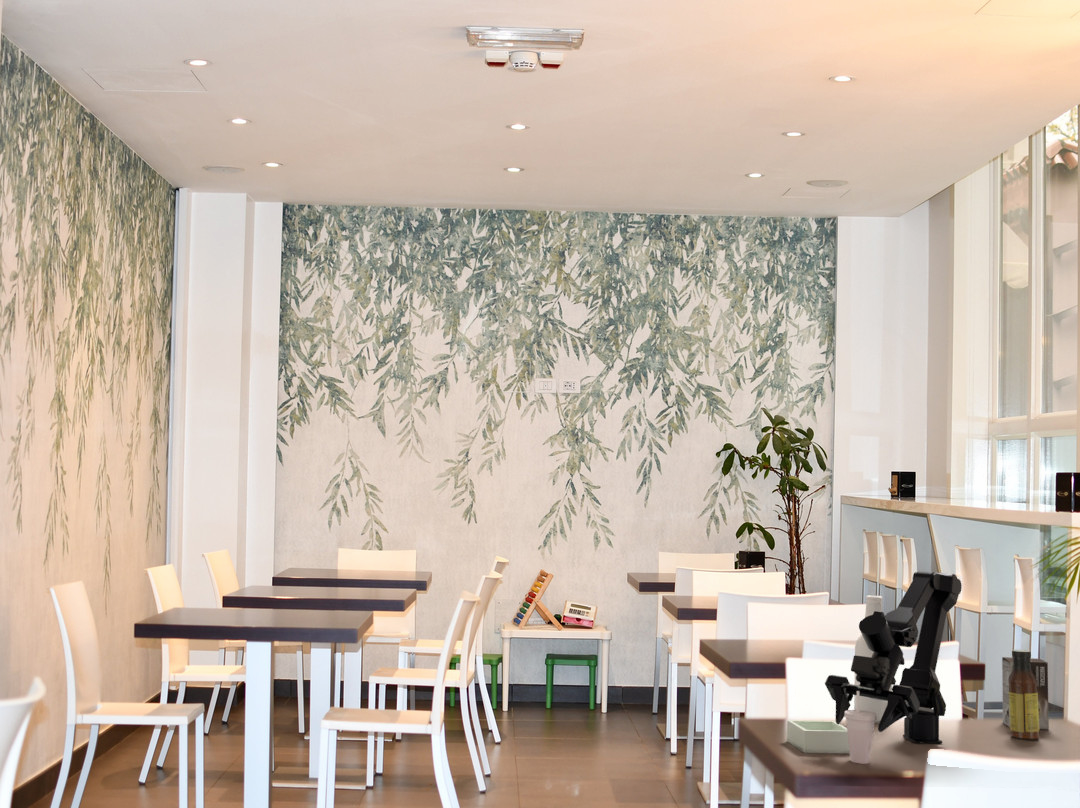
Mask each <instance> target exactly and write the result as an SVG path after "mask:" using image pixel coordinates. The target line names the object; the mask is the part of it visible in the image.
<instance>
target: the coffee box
mask: <svg viewBox="0 0 1080 808" xmlns="http://www.w3.org/2000/svg"><path fill="white" fill-rule="evenodd" d="M1001 659H1002V661H1001V663H1002V664H1001V665H1002V666H1001V669H1002V676H1001V677H1002V678H1001V679H1002V680H1001V681H1002V686H1001V687H1002V723H1003V724H1005V725H1006V726H1007V727H1009V728H1010V714H1009V681H1008V678H1009V676H1010V674H1011V673H1012V671H1013V657H1006V656H1004V657H1003V656H1002V658H1001ZM1030 664H1031V665H1030V666H1031V671H1032V673H1033V675H1034V676H1035V678H1036V680H1037V692H1038V710H1039V730H1049V729H1050V722H1049V721H1050V718H1049V717H1050V715H1049V713H1050V712H1049V670H1048V669H1049V668H1048V667H1049V665H1048V661H1046V660H1044V659H1041V658H1032V657H1031V658H1030Z"/></svg>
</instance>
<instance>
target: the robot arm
mask: <svg viewBox="0 0 1080 808" xmlns="http://www.w3.org/2000/svg"><path fill="white" fill-rule="evenodd" d="M962 585H963V584H962V581H961V579H960V578H958V577H957V575H956V574H955V573H946V572H945V573H944V572H934V571H926V570H925V571H924V570H918V571H914V573H913V575H912V580H911V583H910V585H908V588H907V590H906V592H905V593H904V595H903V596H902V599H901V600H900V602H899V604H898V605H897V607H896V609H893V610H891V611H889V612H887V613H886V614H885V613H884V611H883V612H878V611H874V613H873V615H870V616H867V617H865V616H864V618H863V619H862V620H860V622H859V623H858V629H859V631H860V633H861V635H862V636H863V638H864V640H865V642H866V644H867V646H868V648H869V649H870V650H871V651H873V654H872V657H864V656H856V655H855V654H854V655H853V658H852V663H851V666H850V671H851V672H852V673H854V674H855V673H856V674H857V676H856V680H857V682H860V685H854V684H855V683H854V684H853V683H850V681H849V679H848V677H847V676H841V675H835V674H834V675H833V674H830V675H828V676H827V678H826V680H825V682H824V685H825V687H826V689H827V691H828V693H829V695H830V697H831V699H832V700H833V701H835V722H836V723H837V724H841V722H842V721H843V719H844V718H845V717H844V713H845V711H846V710H850V707H851V703H850V702H851V701H852V700H853V698H854V695H857V691H859V696H864V697H869V698H871V699H877V700H883V701H888V703H887V707H886V709H885V711H884V714H883V716H882V718H881V720H880V723H878V727H877V730H878V732H879V733H883V731H885V730H886V729H888V728H890V726H892V725H893V724H895V723H896V722H898V721H900V720H902V719H903V718H904V719H903V721H904V722H903V734H902V737H903V738H905V739H906V740H909V741H911V742H913V743H915V744H943V740H941V739H940V717H945V715H946V710H947V709H946V707H947V704H946V702H945V699H944V697H943V695H942V692H941V682H940V681H939V679H938V677H937V676H938V675H937V674H936V670H937V669H936V668H937V663H938V658H939V653H940V648H941V644H942V640H943V639H942V638H943V633H944V629H945V624H946V619H947V614H948V613H949V611H950V610H951V609H952V608H954V606H955V605H956V604H957V603H958V599H959V595H960V594H961V591H962ZM923 611H924V612H923ZM922 613H923V615H922ZM921 615H922V619H921V621H922V622H921V625H920V631H919V628H918V625H917V624H918V621H919V619H920V617H921ZM917 640H918V641H917ZM916 642H917V644H916V650H915V653H914V654H915V655H914V659H913V664H912V665H911V666H910V667H909V668H907V667H904V669H903V670H902V672H901V673H902V674H901V679H900V682H899V684H896V682H897V680H896V678H895V677H896V675H897V672H898V668H899V667H900V665H901V666H905V658H904V653H903V650H902V648H901V647H905V648H911V647H913V646H914V644H915V643H916ZM891 684H892V691H889V689H890V687H891Z"/></svg>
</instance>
